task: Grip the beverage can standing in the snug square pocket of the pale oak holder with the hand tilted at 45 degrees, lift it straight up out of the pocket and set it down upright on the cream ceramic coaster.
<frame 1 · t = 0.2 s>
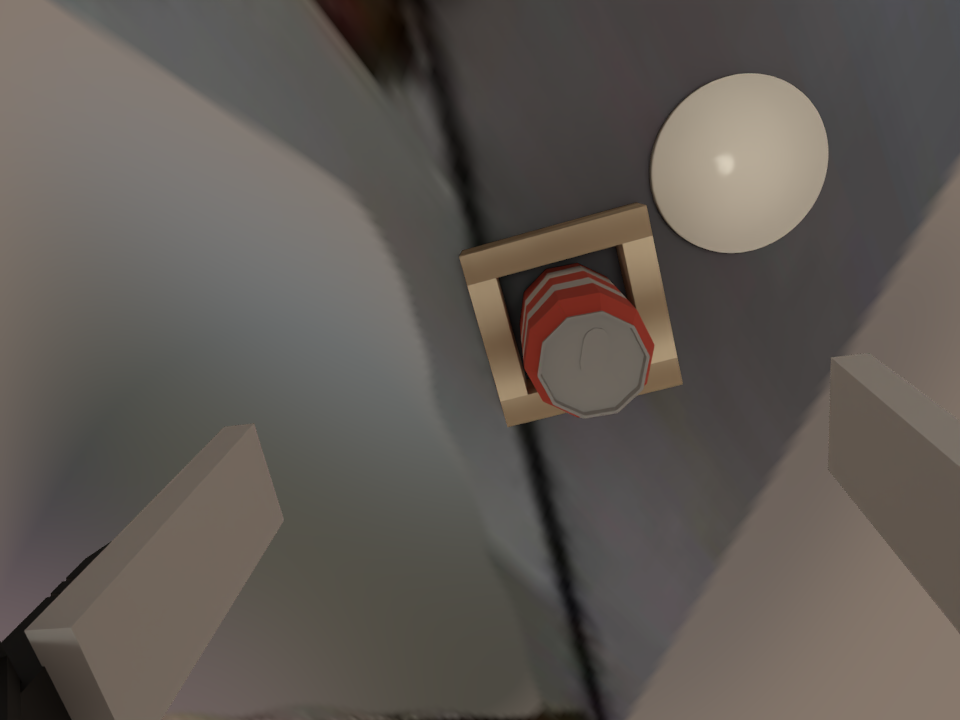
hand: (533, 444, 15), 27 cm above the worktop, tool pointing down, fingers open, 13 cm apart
oak holder: (568, 311, 42), on the worktop
beverage can: (568, 310, 42), resting in oak holder
coaster: (734, 166, 39), on the worktop
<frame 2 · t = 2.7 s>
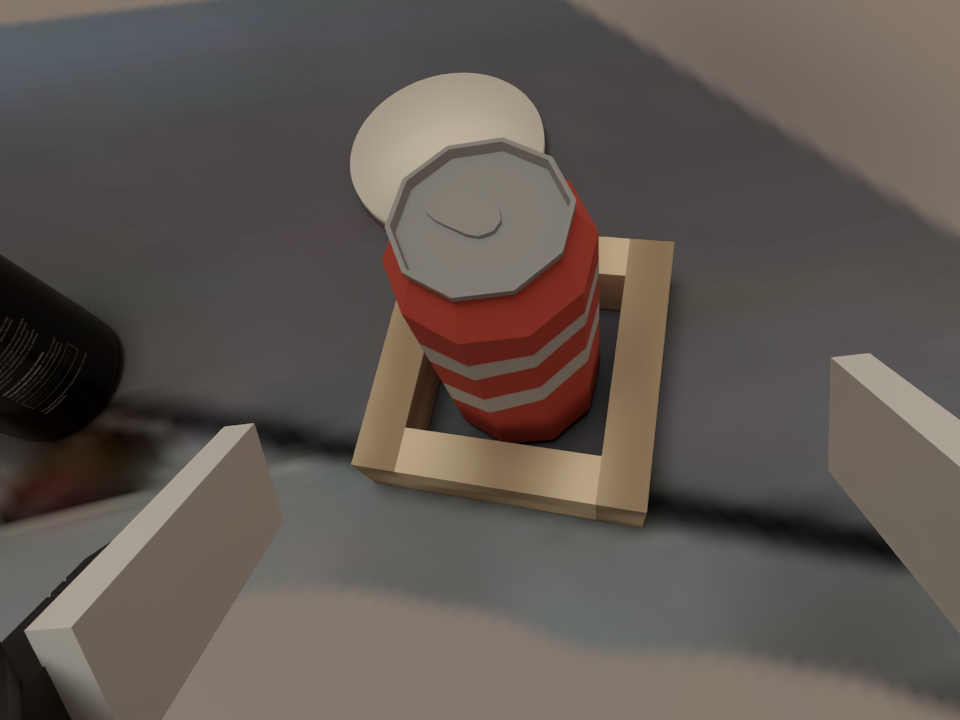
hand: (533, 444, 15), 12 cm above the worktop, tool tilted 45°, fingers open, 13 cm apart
supplement bottle: (64, 379, 33), on the worktop
oak holder: (525, 378, 28), on the worktop
beverage can: (525, 380, 29), resting in oak holder
coaster: (449, 160, 34), on the worktop
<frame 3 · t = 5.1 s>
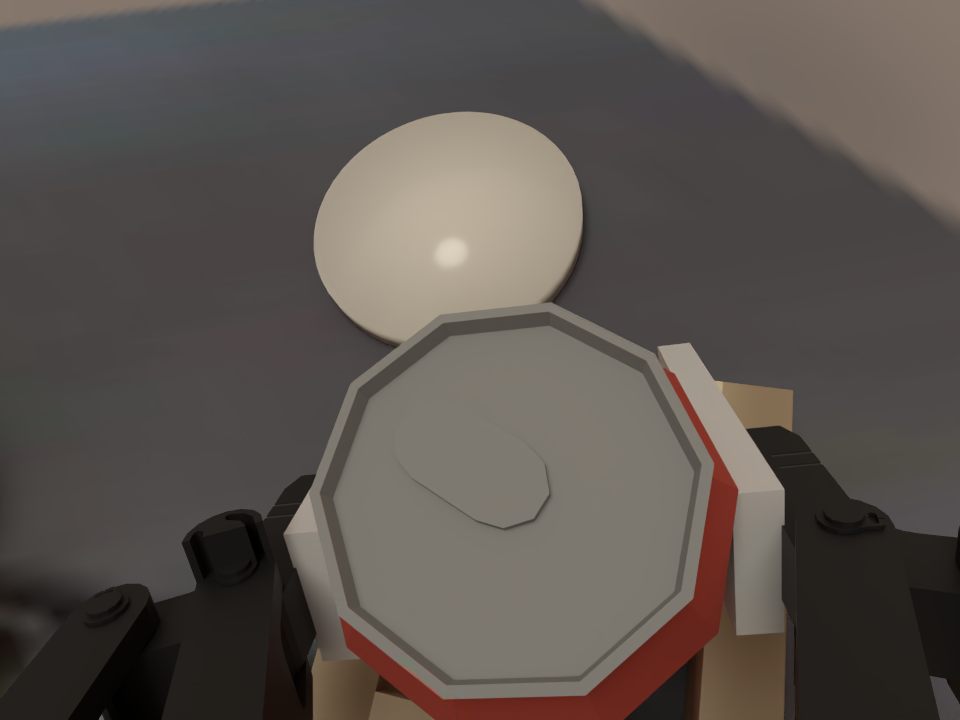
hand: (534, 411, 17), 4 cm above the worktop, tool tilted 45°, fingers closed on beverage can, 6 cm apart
oak holder: (559, 576, 19), on the worktop
beverage can: (559, 577, 19), resting in oak holder, touching gripper
coaster: (449, 232, 25), on the worktop
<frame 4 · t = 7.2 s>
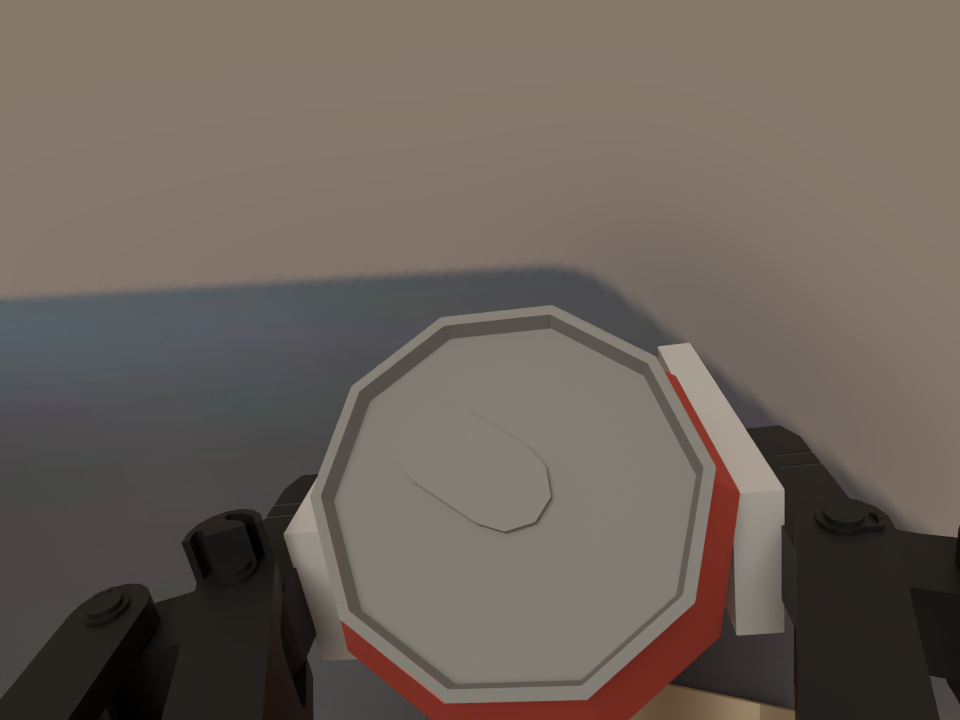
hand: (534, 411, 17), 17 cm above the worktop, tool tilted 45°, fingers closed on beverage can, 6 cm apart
beverage can: (560, 579, 19), point 12 cm above the worktop, touching gripper
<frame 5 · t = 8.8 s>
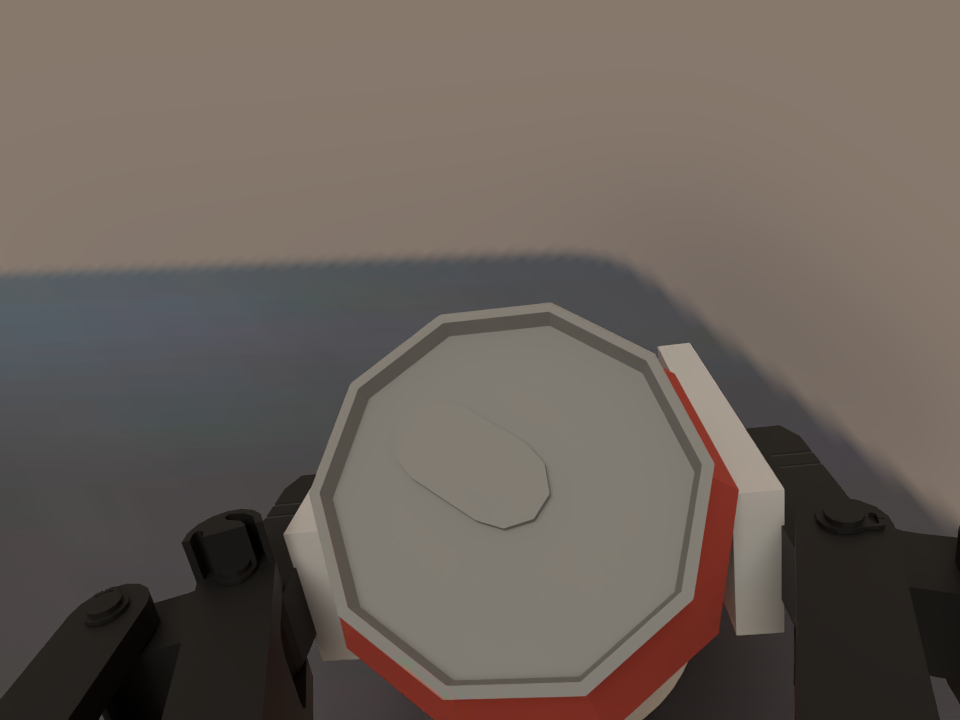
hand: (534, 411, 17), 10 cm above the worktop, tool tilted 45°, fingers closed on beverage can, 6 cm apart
beverage can: (559, 577, 19), point 6 cm above the worktop, touching gripper
coaster: (556, 587, 25), on the worktop
when the fingers open (7 cm above the worktop, at t = 9.8 s): beverage can drops 1 cm, resting on coaster.
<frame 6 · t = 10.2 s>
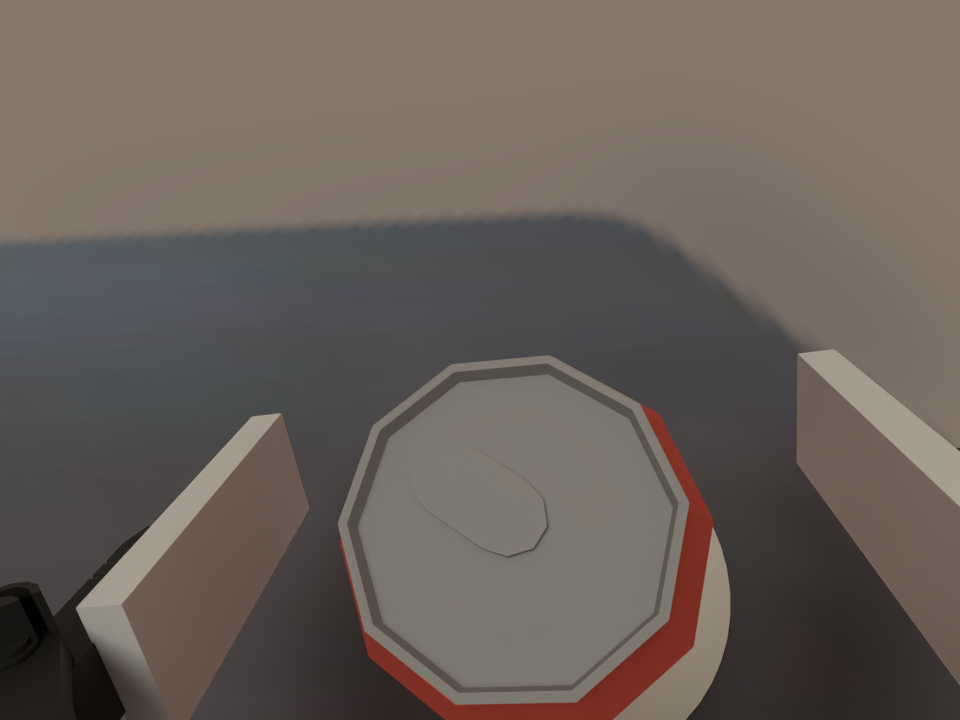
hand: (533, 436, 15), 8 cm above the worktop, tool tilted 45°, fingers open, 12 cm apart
beverage can: (557, 585, 21), point 1 cm above the worktop, touching coaster
coaster: (563, 584, 21), on the worktop
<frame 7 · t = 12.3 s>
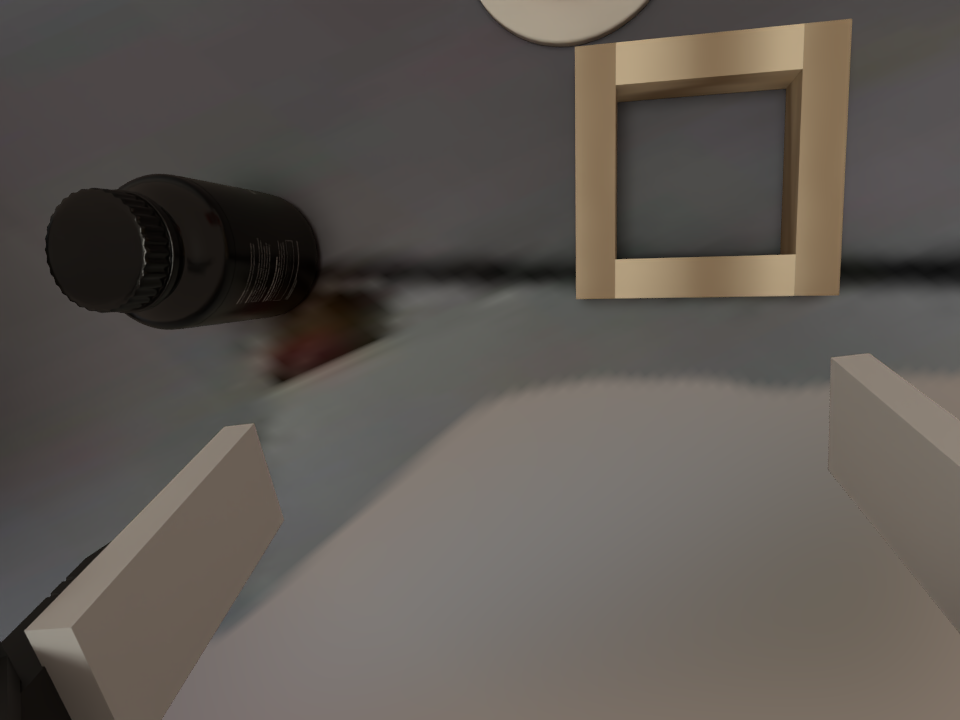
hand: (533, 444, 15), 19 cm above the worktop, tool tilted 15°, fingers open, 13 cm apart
supplement bottle: (267, 256, 37), on the worktop
oak holder: (697, 178, 31), on the worktop
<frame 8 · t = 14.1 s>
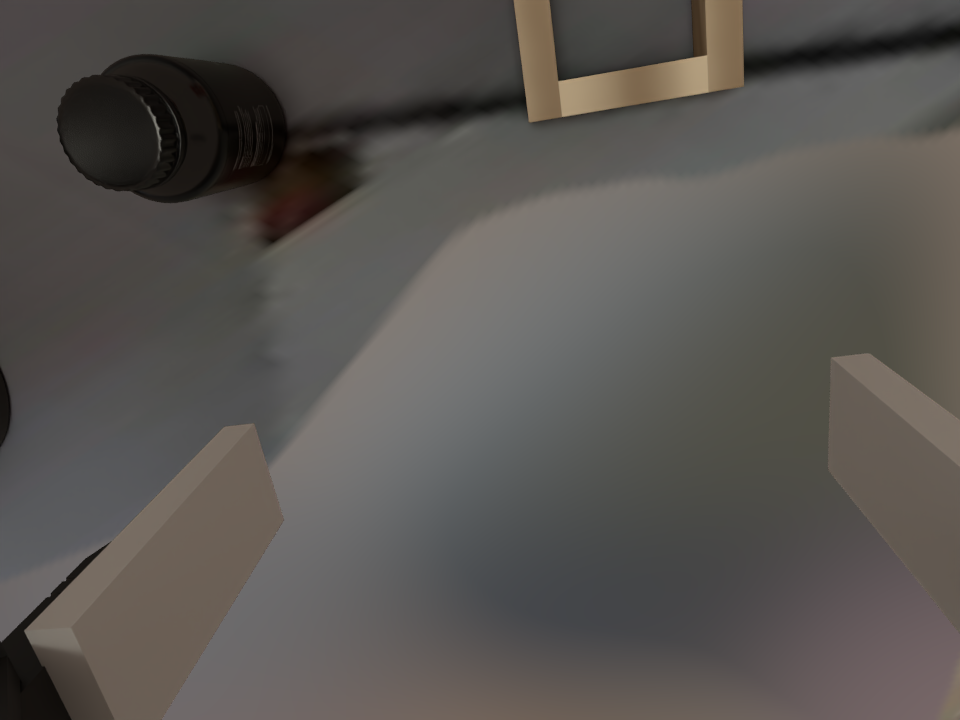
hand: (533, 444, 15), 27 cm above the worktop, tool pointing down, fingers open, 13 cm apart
supplement bottle: (233, 126, 39), on the worktop
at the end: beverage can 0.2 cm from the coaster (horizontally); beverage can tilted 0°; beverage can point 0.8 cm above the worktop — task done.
